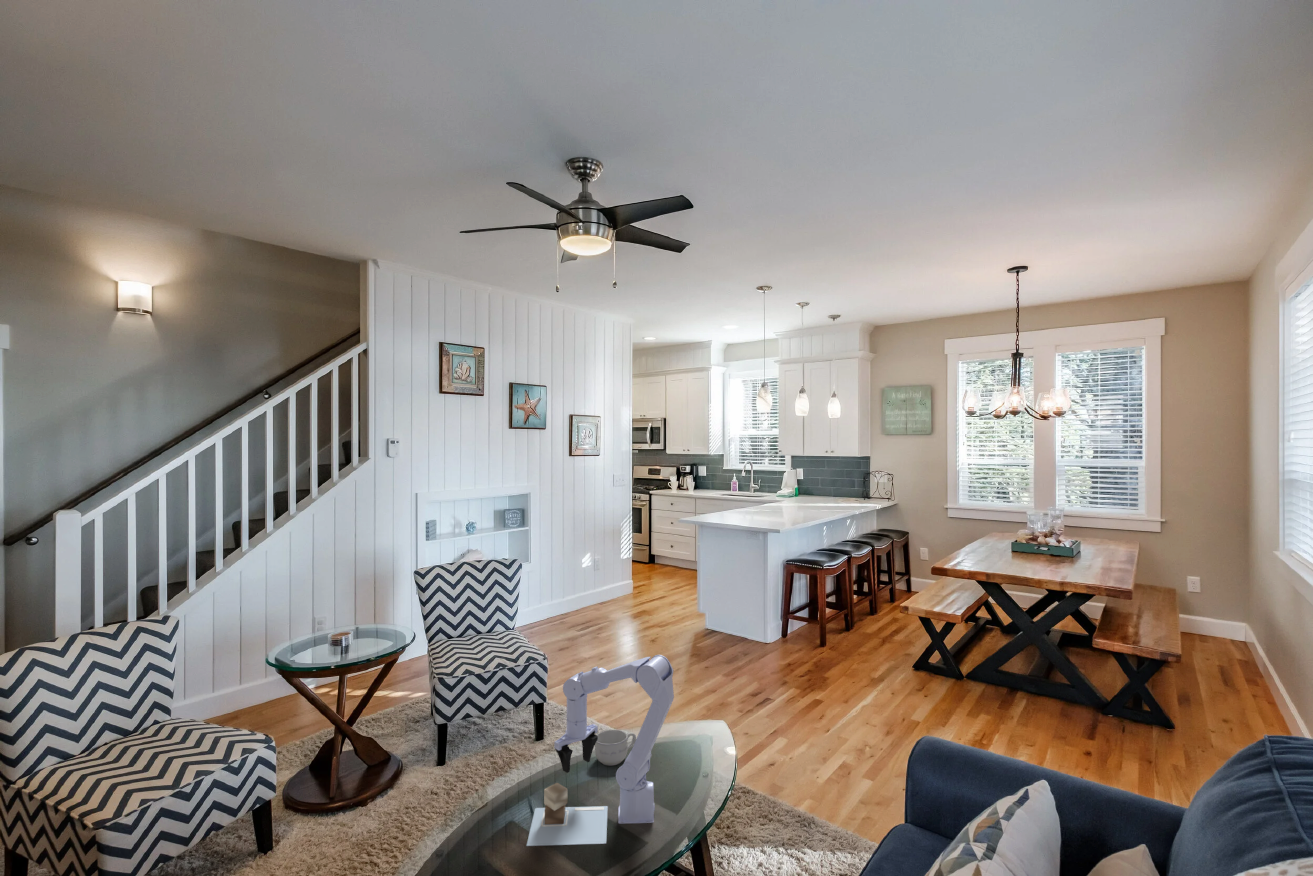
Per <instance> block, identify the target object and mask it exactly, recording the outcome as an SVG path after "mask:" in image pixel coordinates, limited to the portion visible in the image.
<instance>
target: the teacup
mask: <svg viewBox="0 0 1313 876" xmlns="http://www.w3.org/2000/svg"><path fill="white" fill-rule="evenodd" d="M595 735H597V736H598V740H597V742H596V743H595V745H594V753H595V757H596V759H597V761H598V762H600V763H601V764H603V766H610V767H611V766H616V765H617V766H618V765H619V764H621V763H622V762H623V761H625V760H626V758H627V757H628V751H629V749H630V748H633V746H634V743H635V741H636V739H637V736H636V734H635V733H634V732H632V731H630V732H629V731H628V733H627V732H625V731H624V730H621V729H606V730H602V731H600V732H597V733H595ZM630 737H632V739H631V741H630V742H629V743H628V740H629V738H630Z"/></svg>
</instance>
